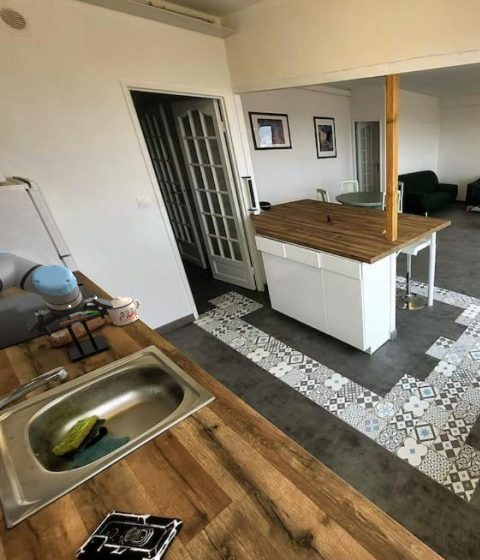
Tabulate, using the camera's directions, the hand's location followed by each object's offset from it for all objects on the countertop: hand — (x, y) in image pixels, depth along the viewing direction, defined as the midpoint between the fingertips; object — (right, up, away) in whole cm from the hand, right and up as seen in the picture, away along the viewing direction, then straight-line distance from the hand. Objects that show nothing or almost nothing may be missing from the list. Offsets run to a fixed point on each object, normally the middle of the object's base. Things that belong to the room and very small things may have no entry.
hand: (76, 323), depth 106 cm
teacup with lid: (-7, -2, +30) cm, 31 cm away
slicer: (-7, -11, +11) cm, 17 cm away
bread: (-17, -7, +19) cm, 27 cm away
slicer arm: (-3, -1, +2) cm, 4 cm away
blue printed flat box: (-27, -1, +32) cm, 42 cm away
